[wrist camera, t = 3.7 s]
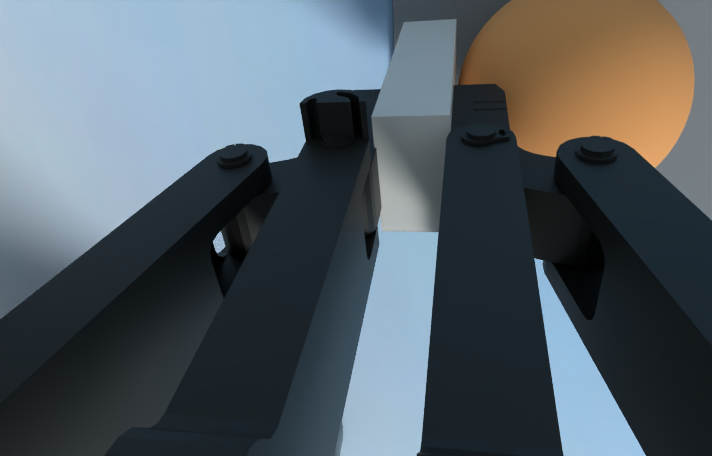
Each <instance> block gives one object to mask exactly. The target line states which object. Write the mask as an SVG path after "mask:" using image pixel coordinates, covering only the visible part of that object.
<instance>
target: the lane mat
mask: <svg viewBox="0 0 712 456" xmlns="http://www.w3.org/2000/svg"><path fill="white" fill-rule="evenodd" d="M510 1H511V0H393V24H394V50H395V47H396V44H397V41H398V38H399V35H400V32H401V29H402V26H403V23H404V22H414V21H431V20H448V19H456V85H458V81H459V76H460V72H461V68H462V65H463V62H464V60H465V57H466V54H467V52H468V50H469V48H470V46H471V45H472V43H473V41H474V39H475V38H476V36H477V35H478V34H479V32H480V31H481V29H482V28H483V27H484V25H485V24H486V23H487V22H488V21H489V20H490V18H491V17H492V16H493V15H494V14H495V13H496V12H497V11H499V10H500V9H501V8H502V7H503V6H504V5H505V4H507V3H508V2H510ZM657 1H658V2H660V3H661V4H662V6H663V7H664V8H665V9H666V10H667V11H668V12H669V13H670V14H671V15H672V16H673V17H674V19H675V20H676V22H677V23H678V25H679V26H680V28H681V29H682V31H683V33H684V36H685V38H686V40H687V42H688V45H689V48H690V51H691V55H692V59H693V64H694V75H695V81H694V96H693V102H692V106H691V111H690V114H689V116H688V119H687V122H686V124H685V127H684V129H683V131H682V133H681V135H680V137H679V138H678V140H677V142H676V144H675V145H674V146H673V148H672V149H671V151H670V152H669V154H668V155H667V156H666V157H665V158H664V159H663V160H662V162H661V163H660V164H659V165H658V166H657V167H655V169H656V170H658V171H659V172H660V173H661V174H662V175H663V176H664V177H665V178H666V179H667V180H668V181H669V182H671V183H672V184H673V185H674V186H675V187H676V188H677V189H678V190H679V191H680V192H681V193H683V194H684V195H685V196H686V197H687V198H688V199H689V200H690V201H691V202H692V203H693V204H694V205H696V206H697V207H698V208H699V209H700V210H701V211H702V212H703V213H704V214H705V215H706V216H708V217H709V218H710V219H711V220H712V0H657Z"/></svg>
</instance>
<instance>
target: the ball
mask: <svg viewBox="0 0 712 456" xmlns="http://www.w3.org/2000/svg"><path fill="white" fill-rule="evenodd" d="M694 81H695V75H694V64H693V59H692V55H691V51H690V48H689V45H688V42H687V40H686V38H685V36H684V33H683V31H682V29H681V28H680V26H679V25H678V23H677V22H676V20H675V19H674V17H673V16H672V15H671V14H670V13H669V12H668V11H667V10H666V9H665V8H664V7H663V6H662V4H661V3H660V2H658V1H657V0H511V1H510V2H508V3H507V4H505V5H504V6H503V7H502V8H501V9H500V10H499V11H497V12H496V13H495V14H494V15H493V16H492V17H491V18H490V20H489V21H488V22H487V23H486V24H485V25H484V27H483V28H482V29H481V31H480V32H479V34H478V35H477V36H476V38H475V39H474V41H473V43H472V45H471V46H470V48H469V50H468V52H467V54H466V57H465V60H464V62H463V65H462V68H461V72H460V76H459V81H458V85H471V84H496V85H497V86H499V87H500V88H501V89H502V90H504V91H505V96H506V103H507V111H508V118H509V125H510V130H511V131H513V133H514V134H515V136H516V138H517V145H518V147H520V148H522V149H524V150H526V151H529V152H531V153H535V154H540V155H545V156H552V157H556V152H557V149H558V148H559V146H560V144H562V143H564V142H566V141H568V140H570V139H575V138H579V137H590V136H601V137H603V136H605V137H610V138H612V139H614V140H617V141H620V142H624V143H625V144H627V145H629V146H630V147H632V148H634V149H635V150H636V151H637V152H638V153H639V154H640V155H641V156H642V157H643V158H644V159H646V160H647V161H648V162H649V163H650V164H651V165H652V166H653V167H654V168H655V167H657V166H658V165H659V164H660V163H661V162H662V160H663V159H664V158H665V157H666V156H667V155H668V154H669V152H670V151H671V149H672V148H673V146H674V145H675V144H676V142H677V140H678V138H679V137H680V135H681V133H682V131H683V129H684V127H685V124H686V122H687V119H688V116H689V114H690V111H691V106H692V102H693V96H694Z"/></svg>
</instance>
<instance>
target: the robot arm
mask: <svg viewBox="0 0 712 456" xmlns="http://www.w3.org/2000/svg"><path fill="white" fill-rule="evenodd" d="M300 109H301V114H302V120H303V126H304V132H305V138H306V142H305V144H304V146H303V148H302V150H301V152H300V154H299V156H298V157H297V158H293V159H289V160H284V161H278V162H272V163H269V160H268V155H267V151H266V150H265V149H264V148H262V147H261V146H257V145H253V144H236V145H234V144H233V145H228V146H226V147H225V148H223V149H220V150H217V151H215V152H214V153H212V154H210V155H209V156H207V157H206V158H205V159H203V160H202V161H201V162H200V163H198V164H197V165H196V166H195V167H193V168H192V169H191V170H190V171H188V172H187V173H186V174H184V175H183V176H182V177H181V178H179V179H178V180H177V181H176V182H174V183H173V184H172V185H170V186H169V187H168V188H167V189H165V190H164V191H163V192H162V193H160V194H159V195H158V196H156V197H155V198H154V199H153V200H151V201H150V202H149V203H148V204H146V205H145V206H144V207H143V208H141V209H140V210H139V211H137V212H136V213H135V214H134V215H132V216H131V217H130V218H129V219H127V220H126V221H125V222H123V223H122V224H121V225H120V226H118V227H117V228H116V229H115V230H113V231H112V232H111V233H110V234H108V235H107V236H106V237H104V238H103V239H102V240H101V241H99V242H98V243H97V244H96V245H94V246H93V247H92V248H90V249H89V250H88V251H87V252H85V253H84V254H83V255H82V256H80V257H79V258H78V259H76V260H75V261H74V262H73V263H71V264H70V265H69V266H68V267H66V268H65V269H64V270H63V271H61V272H60V273H59V274H57V275H56V276H55V277H54V278H52V279H51V280H50V281H49V282H47V283H46V284H45V285H43V286H42V287H41V288H40V289H38V290H37V291H36V292H35V293H33V294H32V295H31V296H30V297H28V298H27V299H26V300H24V301H23V302H22V303H21V304H19V305H18V306H17V307H16V308H14V309H13V310H12V311H10V312H9V313H8V314H7V315H5V316H4V317H3V318H2V319H0V456H340V451H341V445H342V440H343V426H342V416H343V411H344V407H345V402H346V397H347V393H348V388H349V383H350V379H351V374H352V369H353V364H354V360H355V355H356V350H357V346H358V341H359V336H360V332H361V327H362V322H363V318H364V313H365V308H366V304H367V299H368V294H369V290H370V285H371V280H372V276H373V271H374V266H375V262H376V257H377V252H378V248H379V237H378V227H377V225H378V221H379V216H380V217H381V228H382V231H409V232H439V235H438V247H437V259H436V272H435V284H434V296H433V309H432V321H431V333H430V345H429V358H428V370H427V382H426V394H425V407H424V419H423V431H422V442H421V449H420V452H419V453H417V456H563V451H562V445H561V438H560V431H559V424H558V418H557V411H556V404H555V397H554V390H553V384H552V377H551V370H550V363H549V356H548V350H547V343H546V336H545V329H544V322H543V315H542V309H541V302H540V295H539V288H538V281H537V275H536V268H535V261H534V258H536V259H540V260H543V269H544V273H545V275H546V276H547V278H548V280H549V282H550V284H551V285H552V287H553V289H554V291H555V293H556V294H557V296H558V298H559V300H560V302H561V303H562V305H563V307H564V309H565V311H566V312H567V314H568V316H569V318H570V320H571V321H572V323H573V325H574V327H575V329H576V330H577V332H578V334H579V336H580V338H581V339H582V341H583V343H584V345H585V347H586V348H587V350H588V352H589V354H590V356H591V357H592V359H593V361H594V363H595V365H596V366H597V368H598V370H599V372H600V374H601V375H602V377H603V379H604V381H605V383H606V384H607V386H608V388H609V390H610V392H611V393H612V395H613V397H614V399H615V401H616V402H617V404H618V406H619V408H620V410H621V411H622V413H623V415H624V417H625V419H626V420H627V422H628V424H629V426H630V428H631V429H632V431H633V433H634V435H635V437H636V439H637V440H638V442H639V444H640V446H641V448H642V449H643V451H644V453H645V455H646V456H712V220H711V219H710V218H709V217H708V216H706V215H705V214H704V213H703V212H702V211H701V210H700V209H699V208H698V207H697V206H696V205H694V204H693V203H692V202H691V201H690V200H689V199H688V198H687V197H686V196H685V195H684V194H683V193H681V192H680V191H679V190H678V189H677V188H676V187H675V186H674V185H673V184H672V183H671V182H669V181H668V180H667V179H666V178H665V177H664V176H663V175H662V174H661V173H660V172H659V171H658V170H656V169H655V168H654V167H653V166H652V165H651V164H650V163H649V162H648V161H647V160H646V159H644V158H643V157H642V156H641V155H640V154H639V153H638V152H637V151H636V150H635V149H634V148H632V147H630V146H629V145H627V144H625V143H624V142H620V141H617V140H614V139H612V138H610V137H605V136H603V137H601V136H590V137H579V138H575V139H570V140H568V141H566V142H564V143H562V144H560V146H559V148H558V149H557V152H556V157H552V156H545V155H540V154H535V153H531V152H529V151H526V150H524V149H522V148H520V147H518V145H517V138H516V136H515V134H514V133H513V131H511V130H510V125H509V118H508V111H507V103H506V96H505V91H504V90H502V89H501V88H500V87H499V86H497V85H496V84H471V85H456V19H448V20H431V21H414V22H404V23H403V26H402V29H401V32H400V35H399V38H398V41H397V44H396V47H395V50H394V53H393V55H392V58H391V61H390V64H389V67H388V70H387V73H386V76H385V79H384V82H383V85H382V87H381V89H375V90H353V91H352V90H330V91H324V92H320V93H316V94H313V95H311V96H309V97H307V98H305V99H304V100H303V101H302V102H301V103H300ZM220 231H221V233H222V236H223V239H224V243H225V246H226V247H225V248H224V249H223V250H222V251H221V252H219V253H218V254H217V252H216V251H215V248H214V245H213V240H214V239H215V237H216V236H217V234H218V233H219V232H220Z"/></svg>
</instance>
